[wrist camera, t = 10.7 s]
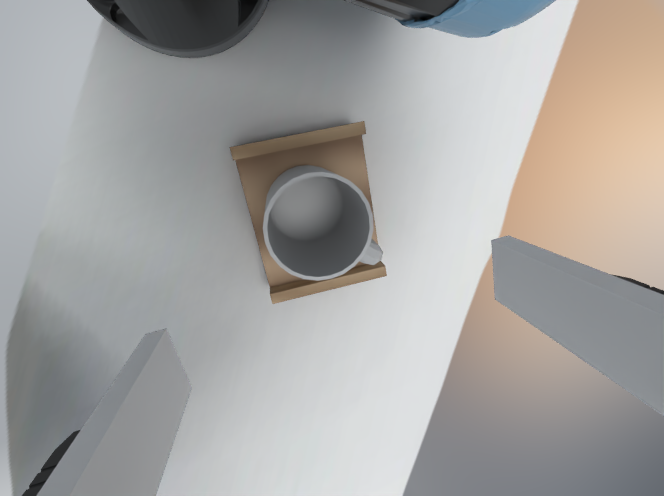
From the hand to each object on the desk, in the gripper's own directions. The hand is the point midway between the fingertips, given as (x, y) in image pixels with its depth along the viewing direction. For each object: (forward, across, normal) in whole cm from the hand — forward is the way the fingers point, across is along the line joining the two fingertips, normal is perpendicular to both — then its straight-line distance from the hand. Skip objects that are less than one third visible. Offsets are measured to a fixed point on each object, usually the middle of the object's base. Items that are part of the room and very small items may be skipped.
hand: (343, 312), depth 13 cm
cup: (+18, +2, 0) cm, 18 cm away
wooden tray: (+21, +1, 0) cm, 21 cm away
